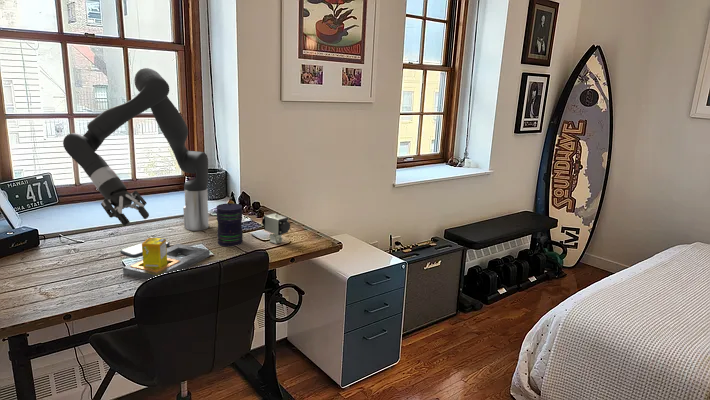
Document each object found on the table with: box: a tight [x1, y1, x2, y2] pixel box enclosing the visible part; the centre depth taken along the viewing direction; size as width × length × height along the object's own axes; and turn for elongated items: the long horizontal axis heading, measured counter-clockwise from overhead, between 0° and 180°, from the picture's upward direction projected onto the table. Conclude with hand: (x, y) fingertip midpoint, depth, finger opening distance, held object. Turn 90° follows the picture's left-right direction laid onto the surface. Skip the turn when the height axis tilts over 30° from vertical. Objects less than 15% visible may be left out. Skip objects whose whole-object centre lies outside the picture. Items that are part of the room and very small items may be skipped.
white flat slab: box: [120, 241, 171, 258], centre depth 182 cm, size 9×2×16 cm
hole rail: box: [122, 243, 210, 281], centre depth 168 cm, size 14×26×3 cm, turn 159°
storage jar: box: [216, 202, 244, 248], centre depth 191 cm, size 10×10×15 cm
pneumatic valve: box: [261, 212, 291, 245], centre depth 194 cm, size 6×12×12 cm, turn 53°
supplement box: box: [141, 237, 167, 270], centre depth 161 cm, size 6×6×11 cm
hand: (137, 220), depth 161 cm, fingers open, 8 cm apart
